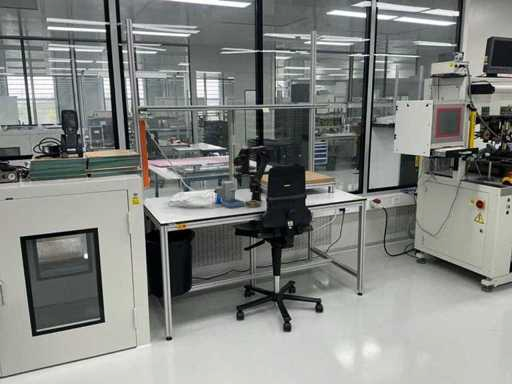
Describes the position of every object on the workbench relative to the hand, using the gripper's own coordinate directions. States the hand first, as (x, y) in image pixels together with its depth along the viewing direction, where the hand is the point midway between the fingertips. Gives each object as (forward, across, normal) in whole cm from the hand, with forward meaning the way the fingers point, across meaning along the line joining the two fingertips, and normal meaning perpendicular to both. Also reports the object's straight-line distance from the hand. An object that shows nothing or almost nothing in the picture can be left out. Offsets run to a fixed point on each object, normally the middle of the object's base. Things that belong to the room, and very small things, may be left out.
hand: (245, 186), depth 307 cm
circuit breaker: (+13, +11, -13) cm, 22 cm away
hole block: (+13, 0, +10) cm, 16 cm away
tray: (+13, +12, 0) cm, 17 cm away
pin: (+12, +11, +1) cm, 17 cm away
